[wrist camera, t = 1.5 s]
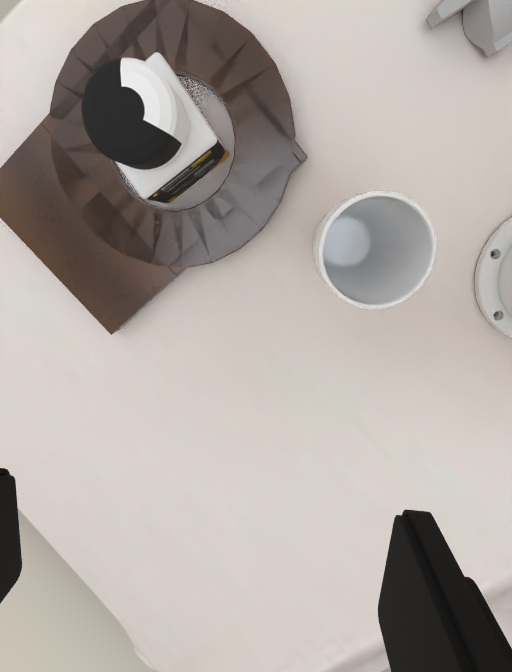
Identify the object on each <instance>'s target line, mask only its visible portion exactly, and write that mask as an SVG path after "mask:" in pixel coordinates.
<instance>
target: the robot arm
mask: <svg viewBox="0 0 512 672" xmlns="http://www.w3.org/2000/svg"><path fill="white" fill-rule="evenodd" d="M492 251H493V255H492V256H490V253H491V252H492ZM475 293H476V299H477V302H478V304H479V307H480V310H481V312H482V313H483V315H484V316H485V318H486V319H487V321H488V322H489V323H490V324H491V325H492V326H493V327H494V328H495V329H497V330H498V331H500V332H501V333H503V334H504V335H506V336H508V337H510V338H512V217H511V218H509V219H508V220H507V221H505V222H504V223H503V224H502V225H501V226H500V227H499V228H498V229H497V230H496V231H495V232H494V233H493V234H492V236H491V237H490V239H489V240H488V242H487V243H486V245H485V246H484V248H483V250H482V253H481V255H480V257H479V260H478V263H477V267H476V272H475ZM495 312H496V315H495V316H494V313H495ZM21 569H22V558H21V546H20V534H19V521H18V509H17V496H16V484H15V478H14V477H13V476H11V475H10V473H9V471H8V470H7V469H4V468H0V603H1V602H2V600H3V599H4V598H5V596H6V595H7V594H8V592H9V591H10V589H11V588H12V587H13V585H14V584H15V583H16V581H17V580H18V578H19V576H20V572H21ZM378 618H379V624H380V628H381V632H382V636H383V640H384V644H385V648H386V652H387V656H388V660H389V664H390V668H391V672H512V648H511V647H510V645H509V643H508V641H507V639H506V637H505V636H504V634H503V632H502V630H501V628H500V627H499V625H498V623H497V621H496V619H495V617H494V615H493V614H492V612H491V610H490V608H489V606H488V604H487V603H486V601H485V599H484V597H483V595H482V593H481V592H480V590H479V588H478V586H477V585H476V583H475V582H474V580H472V579H471V578H469V577H464V575H463V573H462V571H461V569H460V567H459V565H458V564H457V562H456V560H455V558H454V556H453V554H452V552H451V550H450V548H449V546H448V544H447V543H446V541H445V539H444V537H443V535H442V533H441V531H440V529H439V527H438V525H437V523H436V521H435V520H434V518H433V516H432V514H431V513H430V512H424V511H415V510H404V512H403V514H402V516H401V515H397V516H396V517H395V519H394V524H393V529H392V534H391V540H390V545H389V550H388V556H387V561H386V566H385V572H384V577H383V582H382V587H381V593H380V598H379V604H378Z"/></svg>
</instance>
